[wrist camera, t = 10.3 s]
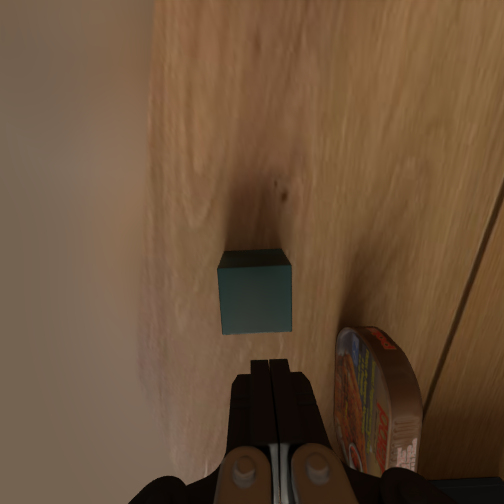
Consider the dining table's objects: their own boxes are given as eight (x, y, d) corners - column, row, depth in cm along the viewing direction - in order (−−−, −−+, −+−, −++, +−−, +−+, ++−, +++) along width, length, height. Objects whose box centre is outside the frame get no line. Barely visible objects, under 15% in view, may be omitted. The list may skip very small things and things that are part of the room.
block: (227, 305, 23) (222, 335, 18) (223, 251, 22) (216, 268, 17) (282, 302, 23) (292, 331, 18) (281, 248, 22) (291, 264, 17)
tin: (336, 309, 23) (384, 373, 15) (370, 307, 23) (437, 370, 15) (332, 441, 27) (369, 551, 19) (362, 439, 27) (412, 548, 19)
